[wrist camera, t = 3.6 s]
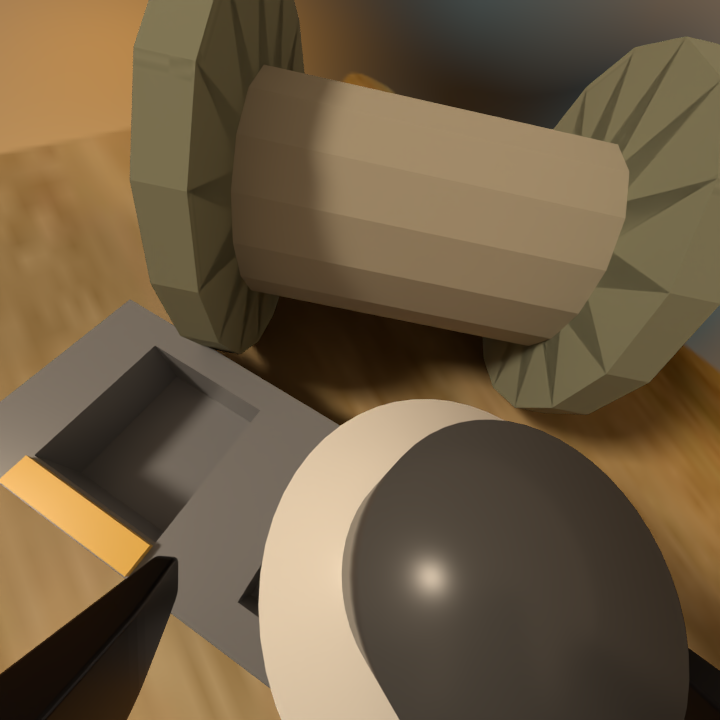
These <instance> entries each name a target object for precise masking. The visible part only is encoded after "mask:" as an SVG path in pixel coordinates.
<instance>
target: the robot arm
mask: <svg viewBox="0 0 720 720" xmlns="http://www.w3.org/2000/svg"><path fill="white" fill-rule="evenodd" d="M177 593H178V559H177V558H176V557H171V556H156V557H154V558H152V559H151V560H150V561H148V562H147V563H146V564H144V565H143V566H142V567H141V568H139V569H138V570H137V571H135V572H134V573H133V574H131V575H130V576H129V577H127V578H126V579H125V580H123V581H122V582H121V583H119V584H118V585H117V586H116V587H114V588H113V589H112V590H110V591H109V592H108V593H106V594H105V595H104V596H102V597H101V598H100V599H98V600H97V601H96V602H94V603H93V604H92V605H91V606H89V607H88V608H87V609H85V610H84V611H83V612H81V613H80V614H79V615H77V616H76V617H75V618H73V619H72V620H71V621H70V622H68V623H67V624H66V625H64V626H63V627H62V628H60V629H59V630H58V631H56V632H55V633H54V634H52V635H51V636H50V637H48V638H47V639H46V640H45V641H43V642H42V643H41V644H39V645H38V646H37V647H35V648H34V649H33V650H31V651H30V652H29V653H27V654H26V655H25V656H23V657H22V658H21V659H20V660H18V661H17V662H16V663H14V664H13V665H12V666H10V667H9V668H8V669H6V670H5V671H4V672H2V673H1V674H0V720H127V718H128V716H129V714H130V712H131V710H132V708H133V706H134V704H135V701H136V699H137V697H138V695H139V693H140V690H141V688H142V685H143V683H144V680H145V678H146V675H147V673H148V670H149V668H150V665H151V662H152V660H153V657H154V655H155V652H156V650H157V647H158V644H159V642H160V639H161V637H162V634H163V632H164V629H165V626H166V624H167V621H168V619H169V616H170V613H171V611H172V608H173V606H174V603H175V600H176V597H177ZM688 651H689V690H688V701H687V709H686V714H685V718H684V720H720V671H719V670H718V669H717V668H715V667H714V666H712V665H711V664H710V663H708V662H707V661H706V660H704V659H703V658H701V657H700V656H699V655H697V654H696V653H695V652H693V651H692V650H691V649H689V648H688Z"/></svg>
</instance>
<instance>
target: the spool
mask: <svg viewBox="0 0 720 720" xmlns="http://www.w3.org/2000/svg"><path fill="white" fill-rule="evenodd" d="M132 88H133V89H132V120H131V155H130V183H131V188H132V193H133V198H134V203H135V208H136V213H137V218H138V223H139V228H140V233H141V238H142V243H143V248H144V253H145V258H146V263H147V268H148V273H149V278H150V283H151V285H152V287H153V289H154V290H155V292H156V294H157V296H158V297H159V299H160V301H161V303H162V304H163V306H164V308H165V310H166V312H167V313H168V315H169V317H170V319H171V320H172V322H173V324H174V326H175V328H176V329H177V331H178V333H179V335H180V336H182V337H184V338H186V339H189V340H191V341H193V342H195V343H198V344H200V345H204V346H208V347H210V348H212V349H215V350H220V351H225V352H230V353H235V354H241V353H242V352H244V351H245V350H247V349H248V348H250V347H251V346H253V345H254V344H255V343H257V342H258V341H259V339H260V338H261V336H262V334H263V332H264V331H265V329H266V327H267V325H268V324H269V322H270V320H271V318H272V317H273V314H274V311H275V308H276V305H277V302H278V299H279V296H282V297H287V298H292V299H297V300H302V301H307V302H312V303H317V304H322V305H327V306H332V307H337V308H342V309H347V310H352V311H357V312H362V313H367V314H372V315H377V316H382V317H387V318H392V319H397V320H402V321H407V322H412V323H417V324H422V325H427V326H432V327H437V328H442V329H447V330H452V331H457V332H462V333H467V334H472V335H477V336H482V337H483V358H484V361H485V364H486V367H487V370H488V373H489V376H490V379H491V382H492V385H493V388H494V389H495V390H496V391H498V392H499V393H500V394H501V395H502V396H503V397H504V398H505V399H506V400H507V401H508V402H510V403H511V404H512V405H513V406H514V407H515V408H520V409H525V410H530V411H536V412H541V413H553V414H582V415H588V414H590V413H592V412H594V411H596V410H597V409H599V408H601V407H603V406H605V405H607V404H609V403H611V402H613V401H615V400H617V399H619V398H620V397H622V396H624V395H626V394H628V393H630V392H632V391H634V390H636V389H638V388H640V387H642V386H644V385H645V384H647V383H649V382H650V381H651V380H652V379H653V378H654V377H655V376H656V375H657V373H658V372H659V371H660V370H661V369H662V368H663V367H664V366H665V365H666V363H667V362H668V361H669V360H670V359H671V358H672V357H673V356H674V355H675V354H676V352H677V351H678V350H679V349H680V348H681V347H682V346H683V345H684V344H685V342H686V341H687V340H688V339H689V338H690V337H691V336H692V335H693V334H694V332H695V331H696V330H697V329H698V328H699V327H700V326H701V325H702V324H703V323H704V321H705V320H706V319H707V318H708V317H709V316H710V315H711V314H712V313H713V312H714V310H715V309H716V308H717V307H718V306H719V305H720V44H716V43H712V42H708V41H704V40H699V39H695V38H691V37H687V36H686V37H682V38H677V39H672V40H668V41H663V42H658V43H653V44H649V45H644V46H639V47H635V48H634V49H632V50H631V51H630V52H629V53H628V54H626V55H625V56H624V57H623V58H621V59H620V60H619V61H618V62H617V63H615V64H614V65H613V66H612V67H610V68H609V69H608V70H607V71H606V72H604V73H603V74H602V75H601V76H599V77H598V78H597V79H596V80H594V81H593V82H592V83H591V84H590V85H588V86H587V87H586V89H585V90H584V91H583V92H582V94H581V95H580V96H579V97H578V99H577V100H576V101H575V103H574V104H573V105H572V106H571V108H570V109H569V110H568V111H567V113H566V114H565V115H564V117H563V118H562V119H561V120H560V122H559V123H558V124H557V126H556V127H555V128H554V129H553V130H552V129H547V128H543V127H538V126H534V125H529V124H525V123H520V122H516V121H511V120H507V119H503V118H499V117H494V116H489V115H485V114H481V113H476V112H472V111H467V110H463V109H458V108H454V107H450V106H445V105H441V104H436V103H432V102H427V101H423V100H419V99H414V98H410V97H406V96H401V95H397V94H392V93H388V92H383V91H379V90H375V89H370V88H366V87H361V86H357V85H352V84H348V83H344V82H339V81H334V80H330V79H326V78H321V77H317V76H313V75H308V74H304V64H303V54H302V44H301V34H300V24H299V18H298V14H297V10H296V6H295V2H294V0H149V1H148V4H147V7H146V10H145V13H144V16H143V19H142V23H141V26H140V29H139V32H138V35H137V38H136V41H135V44H134V51H133V86H132Z"/></svg>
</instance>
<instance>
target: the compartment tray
mask: <svg viewBox="0 0 720 720" xmlns="http://www.w3.org/2000/svg"><path fill="white" fill-rule="evenodd" d="M339 426H340V425H338V424H337V423H335V422H333V421H332V420H330V419H328V418H327V417H325V416H323V415H322V414H320V413H318V412H317V411H315V410H313V409H312V408H310V407H308V406H307V405H305V404H303V403H302V402H300V401H298V400H297V399H295V398H293V397H292V396H290V395H288V394H287V393H285V392H283V391H282V390H280V389H278V388H277V387H275V386H273V385H272V384H270V383H268V382H267V381H265V380H263V379H262V378H260V377H258V376H257V375H255V374H253V373H252V372H250V371H248V370H247V369H245V368H243V367H242V366H240V365H238V364H237V363H235V362H233V361H232V360H230V359H228V358H227V357H225V356H223V355H222V354H220V353H218V352H217V351H215V350H213V349H212V348H210V347H208V346H204V345H200V344H198V343H195V342H193V341H191V340H189V339H186V338H184V337H182V336H180V335H179V333H178V331H177V329H176V328H175V326H174V325H172V324H170V323H169V322H167V321H165V320H164V319H162V318H160V317H159V316H157V315H155V314H154V313H152V312H150V311H149V310H147V309H145V308H144V307H142V306H140V305H139V304H137V303H135V302H134V301H132V300H129V301H127V302H126V303H125V304H124V305H122V306H121V307H120V308H119V309H117V310H116V311H115V312H114V313H112V314H111V315H110V316H108V317H107V318H106V319H105V320H103V321H102V322H101V323H100V324H98V325H97V326H96V327H95V328H93V329H92V330H91V331H89V332H88V333H87V334H86V335H84V336H83V337H82V338H81V339H79V340H78V341H77V342H76V343H74V344H73V345H72V346H70V347H69V348H68V349H67V350H65V351H64V352H63V353H62V354H60V355H59V356H58V357H57V358H55V359H54V360H53V361H51V362H50V363H49V364H48V365H46V366H45V367H44V368H43V369H41V370H40V371H39V372H38V373H36V374H35V375H34V376H32V377H31V378H30V379H29V380H27V381H26V382H25V383H24V384H22V385H21V386H20V387H19V388H17V389H16V390H15V391H13V392H12V393H11V394H10V395H8V396H7V397H6V398H5V399H3V400H2V401H1V402H0V484H1V485H2V486H3V487H5V488H6V489H7V490H9V491H10V492H11V493H13V494H14V495H15V496H17V497H18V498H19V499H21V500H22V501H23V502H25V503H26V504H27V505H28V506H30V507H31V508H32V509H34V510H35V511H36V512H38V513H39V514H40V515H42V516H43V517H44V518H46V519H47V520H48V521H50V522H51V523H52V524H54V525H55V526H56V527H58V528H59V529H60V530H62V531H63V532H64V533H66V534H67V535H68V536H69V537H71V538H72V539H73V540H75V541H76V542H77V543H79V544H80V545H81V546H83V547H84V548H85V549H87V550H88V551H89V552H91V553H92V554H93V555H95V556H96V557H97V558H99V559H100V560H101V561H103V562H104V563H105V564H106V565H108V566H109V567H110V568H112V569H113V570H114V571H116V572H117V573H118V574H120V575H121V576H122V577H124V578H125V579H126V578H127V577H129V576H130V575H131V574H133V573H134V572H135V571H137V570H138V569H139V568H141V567H142V566H143V565H144V564H146V563H147V562H148V561H150V560H151V559H152V558H154V557H156V556H171V557H176V558H177V559H178V593H177V597H176V600H175V603H174V606H173V608H172V611H171V614H173V615H174V616H175V617H177V618H178V619H179V620H181V621H182V622H183V623H184V624H186V625H187V626H188V627H190V628H191V629H192V630H194V631H195V632H196V633H198V634H199V635H200V636H202V637H203V638H204V639H206V640H207V641H208V642H210V643H211V644H212V645H214V646H215V647H216V648H218V649H219V650H220V651H222V652H223V653H224V654H225V655H227V656H228V657H229V658H231V659H232V660H233V661H235V662H236V663H237V664H239V665H240V666H241V667H243V668H244V669H245V670H247V671H248V672H249V673H251V674H252V675H253V676H255V677H256V678H257V679H259V680H260V681H261V682H262V683H264V684H265V685H266V686H268V687H269V688H270V684H269V681H268V678H267V674H266V669H265V663H264V657H263V652H262V646H261V640H260V624H259V606H258V604H259V587H260V572H261V567H262V561H263V555H264V549H265V544H266V540H267V537H268V534H269V530H270V527H271V523H272V520H273V517H274V515H275V512H276V510H277V507H278V505H279V503H280V500H281V498H282V496H283V493H284V492H285V490H286V488H287V486H288V485H289V483H290V481H291V479H292V478H293V476H294V474H295V473H296V471H297V470H298V468H299V467H300V466H301V464H302V463H303V462H304V460H305V459H306V458H307V456H308V455H309V454H310V453H311V452H312V451H313V450H314V449H315V448H316V447H317V446H318V445H319V443H320V442H321V441H322V440H323V439H324V438H325V437H327V436H328V435H329V434H331V433H332V432H333V431H334V430H336V429H337V428H338V427H339ZM270 689H271V688H270Z"/></svg>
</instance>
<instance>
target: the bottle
mask: <svg viewBox="0 0 720 720" xmlns="http://www.w3.org/2000/svg"><path fill="white" fill-rule="evenodd" d="M258 606H259V624H260V640H261V646H262V652H263V657H264V663H265V669H266V674H267V678H268V681H269V684H270V688H271V691H272V695H273V698H274V701H275V705H276V708H277V710H278V713H279V715H280V717H281V720H684V718H685V714H686V709H687V701H688V690H689V651H688V644H687V636H686V629H685V623H684V619H683V614H682V610H681V606H680V601H679V598H678V595H677V592H676V589H675V586H674V583H673V580H672V577H671V574H670V572H669V569H668V567H667V565H666V562H665V560H664V558H663V555H662V553H661V551H660V549H659V547H658V545H657V544H656V542H655V540H654V538H653V536H652V534H651V532H650V530H649V529H648V527H647V526H646V524H645V523H644V521H643V520H642V518H641V516H640V515H639V513H638V512H637V510H636V509H635V508H634V506H633V505H632V504H631V503H630V501H629V500H628V499H627V497H626V496H625V495H624V493H623V492H622V491H621V490H620V489H619V488H618V487H617V486H616V485H615V483H614V482H613V481H612V480H611V479H610V478H609V477H608V476H607V475H606V474H605V473H604V472H603V471H602V470H601V469H599V468H598V467H597V466H596V465H595V464H594V463H593V462H592V461H590V460H589V459H588V458H586V457H585V456H584V455H582V454H581V453H580V452H578V451H577V450H576V449H574V448H573V447H571V446H569V445H568V444H566V443H564V442H563V441H561V440H560V439H558V438H556V437H553V436H551V435H549V434H547V433H545V432H543V431H541V430H538V429H535V428H532V427H529V426H527V425H523V424H518V423H514V422H510V421H505V420H503V419H501V418H499V417H497V416H494V415H492V414H490V413H488V412H486V411H483V410H480V409H477V408H475V407H472V406H469V405H465V404H460V403H456V402H452V401H444V400H435V399H412V400H405V401H398V402H393V403H389V404H386V405H382V406H378V407H375V408H373V409H371V410H368V411H366V412H364V413H361V414H359V415H357V416H355V417H354V418H352V419H350V420H349V421H347V422H345V423H344V424H342V425H341V426H339V427H338V428H337V429H336V430H334V431H333V432H332V433H331V434H329V435H328V436H327V437H325V438H324V439H323V440H322V441H321V442H320V443H319V445H318V446H317V447H316V448H315V449H314V450H313V451H312V452H311V453H310V454H309V455H308V456H307V458H306V459H305V460H304V462H303V463H302V464H301V466H300V467H299V468H298V470H297V471H296V473H295V474H294V476H293V478H292V479H291V481H290V483H289V485H288V486H287V488H286V490H285V492H284V493H283V496H282V498H281V500H280V503H279V505H278V507H277V510H276V512H275V515H274V517H273V520H272V523H271V527H270V530H269V534H268V537H267V540H266V544H265V549H264V555H263V561H262V567H261V572H260V587H259V604H258Z"/></svg>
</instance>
